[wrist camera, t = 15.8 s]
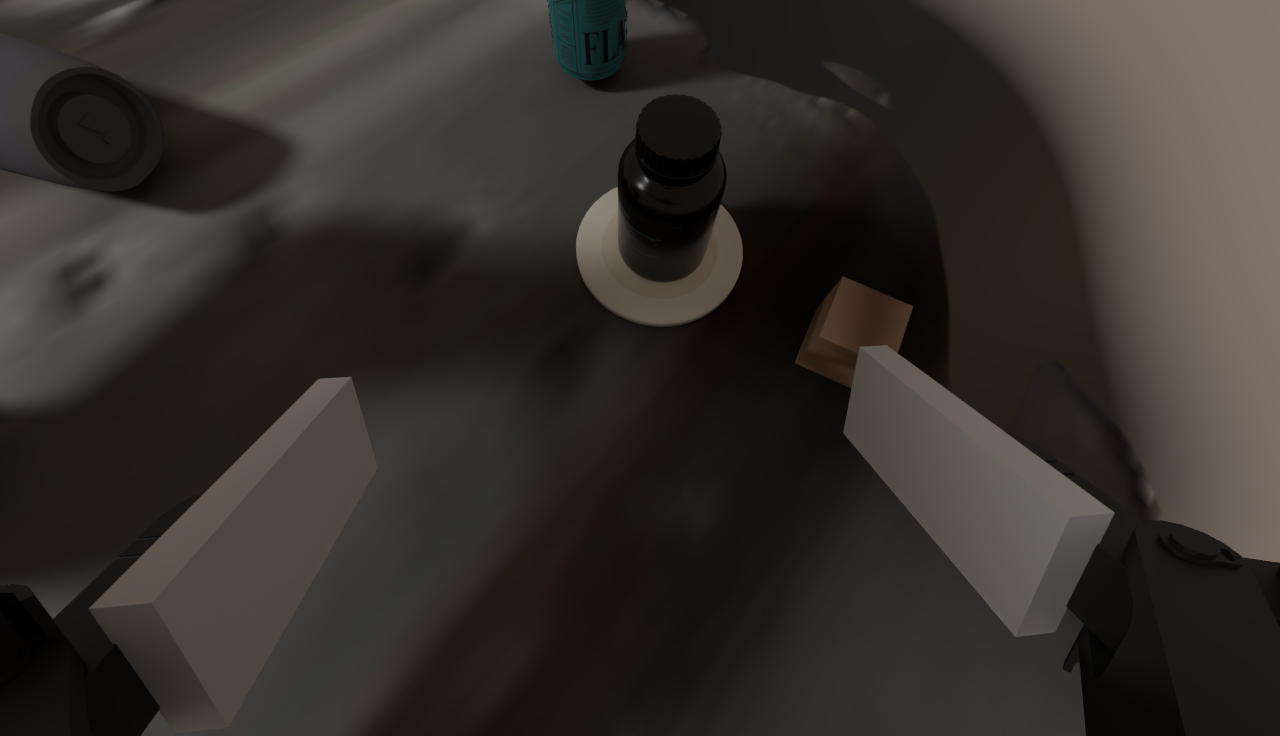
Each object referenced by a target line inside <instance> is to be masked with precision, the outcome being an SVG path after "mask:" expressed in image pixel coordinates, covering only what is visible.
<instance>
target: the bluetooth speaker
mask: <svg viewBox="0 0 1280 736" xmlns="http://www.w3.org/2000/svg"><path fill="white" fill-rule="evenodd" d="M163 148H164V135H163V129H162V126H161V122H160V120H159V117H158V115H157V113H156V111H155V109H154V107H153V106H152V104H151V103H150V101H149V100H148V99H147V98H146V96H145V95H144V94H143V93H142V92H141V91H139V90H138V89H137V88H136V87H135V86H133V85H132V84H131V83H129V82H128V81H126V80H125V79H123V78H121V77H119V76H117V75H116V74H114V73H112V72H109V71H107V70H105V69H103V68H101V67H98V66H96V65H94V64H91V63H89V62H86V61H84V60H81V59H79V58H76V57H74V56H71V55H68V54H65V53H62V52H59V51H56V50H53V49H50V48H47V47H44V46H41V45H38V44H35V43H32V42H29V41H26V40H23V39H20V38H17V37H14V36H11V35H8V34H5V33H1V32H0V169H2V170H6V171H10V172H14V173H17V174H22V175H27V176H31V177H35V178H39V179H43V180H47V181H51V182H55V183H59V184H63V185H68V186H73V187H79V188H85V189H90V190H98V191H107V192H115V191H123V190H127V189H130V188H133V187H135V186H137V185H139V184H140V183H141V182H142V181H143V180H144V179H145V178H146V177H147V176H148V175H149V174H150V173H151V172H152V171H153V169H154V168H155V166H156V165H157V163H158V162H159V160H160V158H161V156H162V152H163Z"/></svg>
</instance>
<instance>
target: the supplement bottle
mask: <svg viewBox="0 0 1280 736" xmlns="http://www.w3.org/2000/svg"><path fill="white" fill-rule="evenodd" d="M719 121H720V119H719V118H718V117H717V114H716V112H714V111H713V110H712V107H710V106H708V105H707V104H706V103H705V102H702V101H701V100H700V99H697V98H694V97H692V96H686V95H677V94H674V95H666V96H663V97H659V98H657V99H654V100H652V102H650V103H648V104H647V105H646V107H645V108H643V109H642V112H641V113H640V114H639V117H638V121H637V125H636V136H635V139H634V140H633V141H632V142H631V143H630V144H629V145H628V146H627V148H626V149H625V151H624V152H623V154H622V156H621V159H620V162H619V169H618V248H619V252H620V255H621V257H622V259H623V261H624V262H625V264H626V265H627V266H628V268H629V269H630V270H631V271H633V272H634V273H635V274H637V275H638V276H640V277H642V278H644V279H647V280H650V281H654V282H673V281H677V280H680V279H683V278H685V277H687V276H689V275H690V274H691V273H693V272H694V271H695V270H696V269H697V268H698V267H699V265H700V264H701V262H702V260H703V258H704V256H705V253H706V250H707V247H708V244H709V241H710V237H711V234H712V230H713V227H714V224H715V220H716V217H717V214H718V210H719V207H720V204H721V200H722V197H723V193H724V190H725V185H726V177H727V174H726V167H725V163H724V160H723V158H722V155H721V154H720V152H719V144H720V139H721V134H722V132H721V124H720V122H719Z"/></svg>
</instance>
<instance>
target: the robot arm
mask: <svg viewBox="0 0 1280 736" xmlns="http://www.w3.org/2000/svg"><path fill="white" fill-rule="evenodd" d="M844 434H845V436H846V437H847V438H848V439H849V440H850V442H851V443H852V444H853V445H854V446H855V447H856V449H857V450H858V451H859V452H860V453H861V455H862V456H863V457H864V458H865V459H866V460H867V462H868V463H869V464H870V465H871V466H872V468H873V469H874V470H875V471H876V472H877V474H878V475H879V476H880V477H881V478H882V479H883V481H884V482H885V483H886V484H887V485H888V487H889V488H890V489H891V490H892V491H893V492H894V494H895V495H896V496H897V497H898V498H899V500H900V501H901V502H902V503H903V504H904V506H905V507H906V508H907V509H908V510H909V511H910V513H911V514H912V515H913V516H914V517H915V519H916V520H917V521H918V522H919V523H920V524H921V526H922V527H923V528H924V529H925V530H926V532H927V533H928V534H929V535H930V536H931V538H932V539H933V540H934V541H935V542H936V543H937V545H938V546H939V547H940V548H941V549H942V551H943V552H944V553H945V554H946V555H947V556H948V558H949V559H950V560H951V561H952V562H953V564H954V565H955V566H956V567H957V568H958V570H959V571H960V572H961V573H962V574H963V575H964V577H965V578H966V579H967V580H968V581H969V583H970V584H971V585H972V586H973V587H974V588H975V590H976V591H977V592H978V593H979V594H980V596H981V597H982V598H983V599H984V600H985V602H986V603H987V604H988V605H989V606H990V607H991V609H992V610H993V611H994V612H995V613H996V615H997V616H998V617H999V618H1000V619H1001V620H1002V622H1003V623H1004V624H1005V625H1006V626H1007V628H1008V629H1009V630H1010V631H1011V632H1012V634H1013V635H1014V636H1015V637H1020V636H1029V635H1037V634H1046V633H1055V632H1056V630H1057V628H1058V626H1059V624H1060V622H1061V620H1062V618H1063V616H1064V614H1065V612H1066V610H1067V608H1069V609H1070V610H1071V611H1072V612H1073V613H1074V614H1075V615H1076V616H1077V617H1078V618H1079V619H1080V620H1081V621H1082V622H1083V623H1084V626H1083V627H1082V629H1081V631H1080V633H1079V635H1078V637H1077V639H1076V641H1075V643H1074V644H1073V646H1072V648H1071V650H1070V652H1069V654H1068V656H1067V658H1066V659H1065V662H1064V666H1063V670H1065V671H1068V672H1071V671H1072V669H1073V667H1074V665H1075V663H1078V662H1080V672H1081V683H1082V694H1083V705H1084V716H1085V727H1086V736H1280V563H1277V562H1269V561H1263V560H1256V559H1249V558H1242V557H1241V555H1239V554H1238V553H1236V552H1235V551H1234V550H1232V549H1231V548H1230V547H1228V546H1227V545H1225V544H1224V543H1222V542H1220V541H1218V540H1216V539H1215V538H1213V537H1211V536H1209V535H1207V534H1205V533H1203V532H1200V531H1197V530H1194V529H1192V528H1189V527H1186V526H1184V525H1180V524H1175V523H1171V522H1166V521H1144V522H1143V521H1142V520H1141V519H1139V518H1138V517H1136V516H1135V515H1134V514H1132V513H1131V512H1129V511H1128V510H1127V509H1125V508H1124V507H1122V506H1121V505H1120V504H1118V503H1117V502H1115V501H1114V500H1113V499H1111V498H1110V497H1108V496H1107V495H1106V494H1104V493H1103V492H1101V491H1100V490H1099V489H1097V488H1096V487H1094V486H1093V485H1091V484H1090V483H1089V482H1087V481H1086V480H1084V479H1083V478H1082V477H1080V476H1075V474H1074V472H1073V471H1072V470H1070V469H1069V468H1068V467H1066V466H1065V465H1063V464H1062V463H1057V460H1056V459H1055V458H1054V457H1052V456H1051V455H1049V454H1048V453H1047V452H1045V451H1044V450H1042V449H1041V448H1040V447H1038V446H1037V445H1035V444H1033V443H1031V442H1029V441H1027V440H1025V439H1022V438H1020V437H1018V436H1016V435H1014V434H1012V433H1009V432H1004V431H1003V430H1001V429H1000V428H998V427H997V426H996V425H995V424H993V423H992V422H990V421H989V420H988V419H986V418H985V417H984V416H982V415H981V414H980V413H978V412H977V411H975V410H974V409H973V408H971V407H970V406H968V405H967V404H966V403H965V402H963V401H962V400H960V399H959V398H958V397H956V396H955V395H954V394H952V393H951V392H950V391H948V390H947V389H945V388H944V387H943V386H941V385H940V384H939V383H937V382H936V381H935V380H933V379H932V378H930V377H929V376H928V375H926V374H925V373H924V372H922V371H921V370H920V369H918V368H917V367H915V366H914V365H913V364H911V363H910V362H909V361H907V360H906V359H905V358H903V357H902V356H900V355H899V354H898V353H896V352H895V351H894V350H892V349H891V348H890V347H888V346H887V345H882V346H865V347H859V352H858V358H857V363H856V368H855V374H854V379H853V384H852V390H851V395H850V400H849V406H848V411H847V417H846V422H845V427H844ZM377 468H378V467H377V463H376V460H375V456H374V453H373V449H372V446H371V443H370V439H369V436H368V432H367V429H366V425H365V422H364V419H363V415H362V412H361V408H360V405H359V401H358V398H357V395H356V391H355V388H354V384H353V381H352V377H340V378H323V379H318V380H317V381H316V382H315V383H314V384H313V385H312V386H311V387H310V388H309V389H308V390H307V391H306V392H305V393H304V394H303V395H302V396H301V397H300V398H299V399H298V400H297V401H296V402H295V403H294V404H293V405H292V406H291V407H290V408H289V409H288V410H287V411H286V412H285V413H284V414H283V415H282V416H281V417H280V418H279V419H278V420H277V421H276V422H275V423H274V424H273V425H272V426H271V427H270V428H269V429H268V430H267V431H266V432H265V433H264V434H263V435H262V436H261V437H260V438H259V439H258V440H257V441H256V442H255V443H254V444H253V445H252V446H251V447H250V448H249V449H248V450H247V451H246V452H245V453H244V454H243V455H242V456H241V457H240V458H239V459H238V460H237V461H236V462H235V463H234V464H233V465H232V466H231V467H230V468H229V469H228V470H227V471H226V472H225V473H224V474H223V475H222V476H221V477H220V478H219V479H218V480H217V481H216V482H215V483H214V484H213V485H212V486H211V487H210V488H209V489H208V490H207V491H206V492H205V493H204V494H203V495H199V496H192V497H191V498H189V499H187V500H186V501H184V502H183V503H181V504H179V505H178V506H176V507H175V508H173V509H171V510H170V511H168V512H167V513H165V514H163V515H162V516H161V517H160V518H159V519H158V520H157V521H156V522H155V523H153V524H152V525H151V526H150V527H149V528H148V529H147V530H146V531H145V532H144V533H143V534H142V535H141V536H140V537H139V541H137V542H134V543H132V544H131V545H130V546H129V547H128V548H127V549H126V550H125V551H124V552H123V553H122V554H121V555H120V559H119V560H115V561H114V562H112V563H111V564H110V565H109V566H108V567H107V568H106V569H105V570H104V571H103V572H102V573H101V574H100V575H99V576H98V577H97V578H96V579H95V580H94V581H92V582H91V583H90V584H89V585H88V586H87V587H86V588H85V589H84V590H83V591H82V592H81V593H80V594H79V595H78V596H77V597H76V598H75V599H74V600H73V601H71V602H70V603H69V604H68V605H67V606H66V607H65V608H64V609H63V610H62V611H61V612H60V613H59V614H58V615H57V616H56V617H55V618H54V619H52V617H51V616H50V615H49V613H48V612H47V611H46V609H45V608H44V607H43V605H42V604H41V603H40V601H39V600H38V599H37V597H36V596H35V595H34V593H33V592H32V591H31V589H30V588H29V587H27V586H21V585H15V584H11V585H5V586H0V736H141V735H142V733H143V732H144V730H145V729H146V728H147V726H148V725H149V723H150V722H151V720H152V719H153V718H154V716H155V715H156V713H157V712H158V711H160V713H161V714H162V716H163V717H164V719H165V720H166V721H167V723H168V724H169V726H170V727H171V729H172V730H173V732H174V733H175V734H177V733H186V732H195V731H204V730H212V729H221V728H228V727H229V725H230V724H231V722H232V720H233V719H234V717H235V715H236V713H237V712H238V710H239V708H240V706H241V705H242V703H243V701H244V699H245V698H246V696H247V694H248V692H249V691H250V689H251V687H252V686H253V684H254V682H255V680H256V679H257V677H258V675H259V673H260V672H261V670H262V668H263V666H264V665H265V663H266V661H267V659H268V658H269V656H270V654H271V653H272V651H273V649H274V647H275V646H276V644H277V642H278V640H279V639H280V637H281V635H282V633H283V632H284V630H285V628H286V626H287V625H288V623H289V621H290V620H291V618H292V616H293V614H294V613H295V611H296V609H297V607H298V606H299V604H300V602H301V600H302V599H303V597H304V595H305V593H306V592H307V590H308V588H309V587H310V585H311V583H312V581H313V580H314V578H315V576H316V574H317V573H318V571H319V569H320V567H321V566H322V564H323V562H324V560H325V559H326V557H327V555H328V554H329V552H330V550H331V548H332V547H333V545H334V543H335V541H336V540H337V538H338V536H339V534H340V533H341V531H342V529H343V527H344V526H345V524H346V522H347V521H348V519H349V517H350V515H351V514H352V512H353V510H354V508H355V507H356V505H357V503H358V501H359V500H360V498H361V496H362V494H363V493H364V491H365V489H366V488H367V486H368V484H369V482H370V481H371V479H372V477H373V475H374V474H375V472H376V470H377Z"/></svg>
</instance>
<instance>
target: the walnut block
mask: <svg viewBox="0 0 1280 736" xmlns="http://www.w3.org/2000/svg"><path fill="white" fill-rule="evenodd" d="M912 308H913V306H911V305H909V304H906V303H904V302H902V301H899V300H897V299H895V298H892V297H890V296H888V295H885V294H883V293H881V292H878V291H876V290H874V289H871V288H869V287H867V286H864V285H862V284H860V283H857V282H855V281H853V280H850V279H848V278H846V277H842V278H841V279H840V281H839V282H838V283H837V284H836V285H835V287H834V288H833V289H832V290H831V292H830V293H829V294H828V295H827V297H826V298H825V299H824V300H823V301H822V303H821V304H820V305H819V306H818V308H817V309H816V311H815V314H814V316H813V319H812V321H811V324H810V326H809V329H808V331H807V334H806V336H805V339H804V341H803V343H802V346H801V348H800V351H799V353H798V356H797V358H796V361H795V363H796V364H798V365H801V366H803V367H805V368H807V369H809V370H812V371H814V372H816V373H818V374H821V375H823V376H825V377H827V378H829V379H832V380H834V381H836V382H838V383H840V384H843V385H845V386H847V387H849V388H851V389H852V384H853V379H854V374H855V368H856V363H857V358H858V352H859V347H865V346H882V345H887V346H888V347H890V348H891V349H892V350H894V351H895V352H896V353H898V351H899V348H900V345H901V342H902V339H903V336H904V333H905V329H906V326H907V323H908V320H909V317H910V314H911V311H912Z"/></svg>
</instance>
